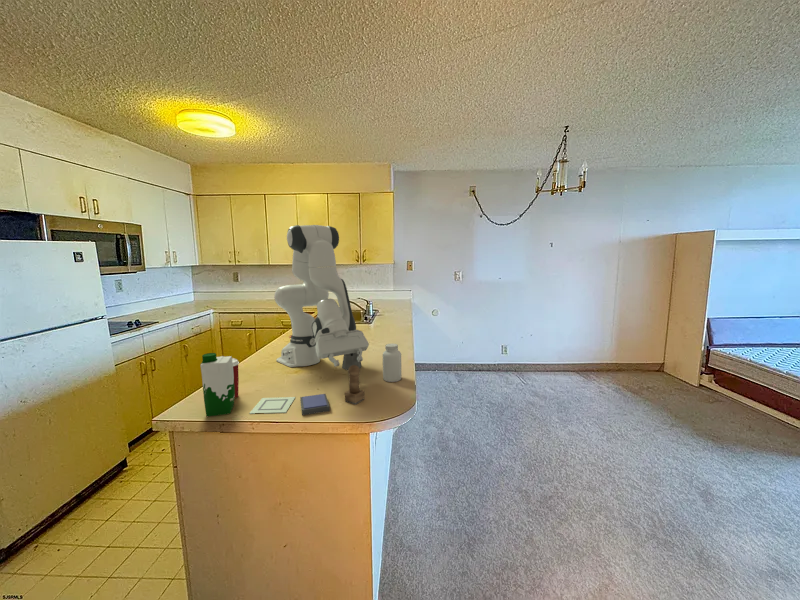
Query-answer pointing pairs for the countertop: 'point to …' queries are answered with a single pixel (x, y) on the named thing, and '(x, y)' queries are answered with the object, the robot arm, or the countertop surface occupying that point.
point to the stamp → (354, 386)
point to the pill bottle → (391, 363)
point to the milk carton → (217, 384)
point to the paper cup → (235, 375)
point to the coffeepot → (350, 360)
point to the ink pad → (314, 404)
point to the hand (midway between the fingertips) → (349, 363)
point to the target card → (273, 405)
